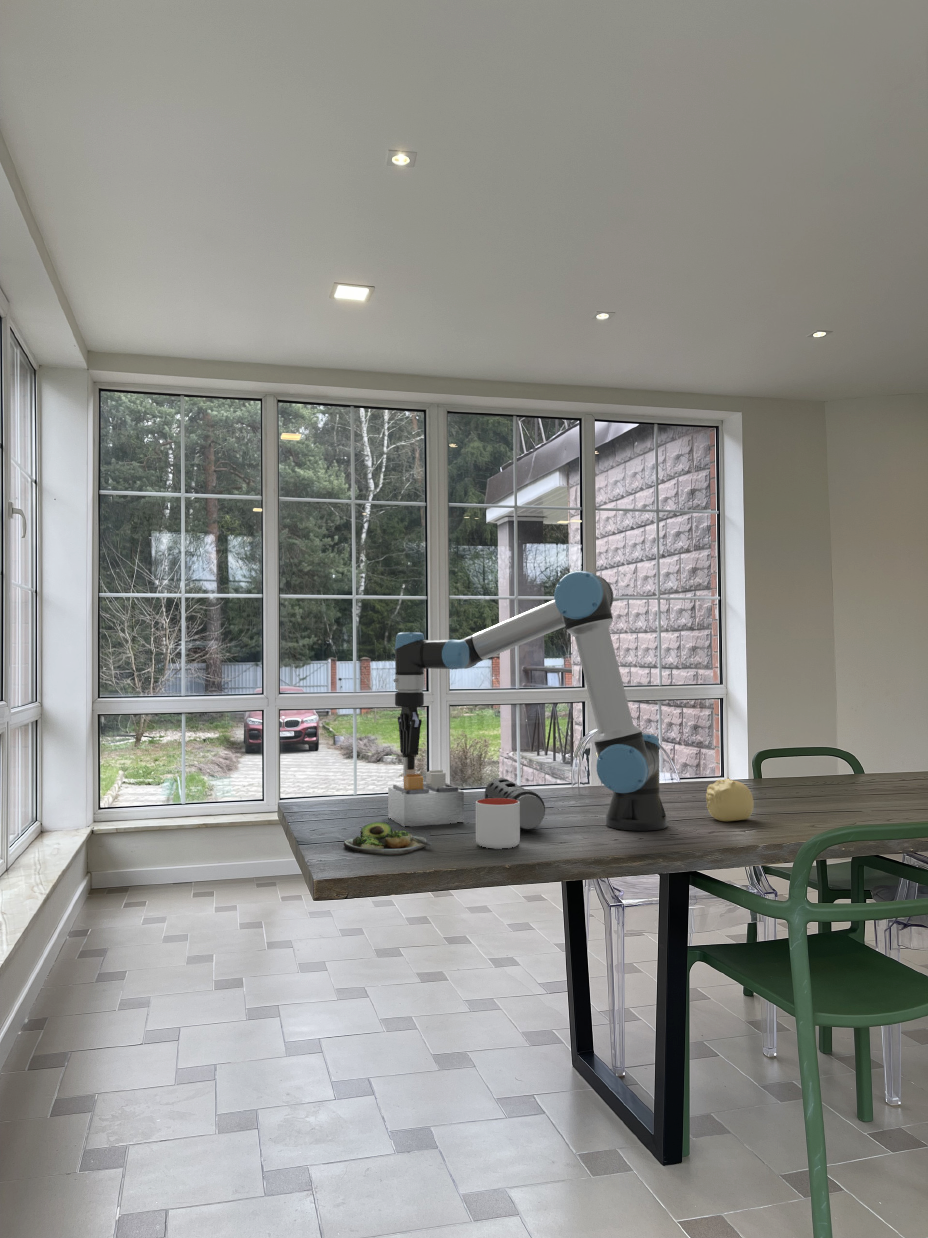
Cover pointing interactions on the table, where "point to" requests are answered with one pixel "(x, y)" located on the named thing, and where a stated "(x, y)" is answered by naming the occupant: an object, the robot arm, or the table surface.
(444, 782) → the toggle white
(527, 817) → the muzzle brake
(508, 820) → the cup
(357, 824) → the table surface
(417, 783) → the toggle orange
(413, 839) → the salad plate
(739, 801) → the sculpture
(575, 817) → the table surface
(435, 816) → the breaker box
